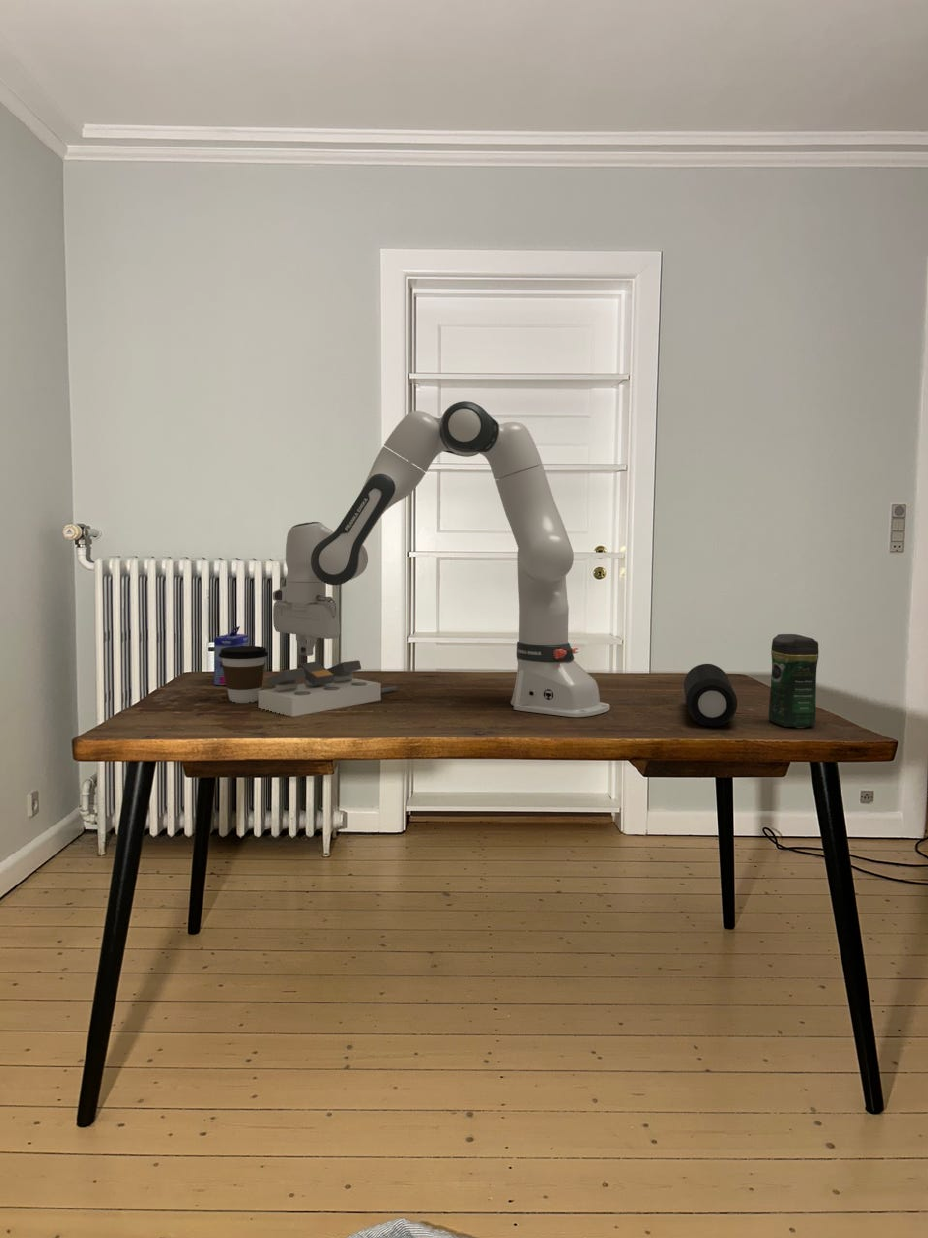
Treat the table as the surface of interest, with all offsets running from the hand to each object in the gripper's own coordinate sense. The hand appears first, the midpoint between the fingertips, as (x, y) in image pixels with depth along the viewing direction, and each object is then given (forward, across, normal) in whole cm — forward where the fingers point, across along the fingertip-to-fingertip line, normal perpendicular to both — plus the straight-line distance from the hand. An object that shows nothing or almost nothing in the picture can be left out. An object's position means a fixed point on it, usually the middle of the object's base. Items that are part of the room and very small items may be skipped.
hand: (306, 655), depth 200 cm
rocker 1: (+4, -3, +8) cm, 9 cm away
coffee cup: (+11, +11, +9) cm, 18 cm away
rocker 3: (+4, -3, -8) cm, 9 cm away
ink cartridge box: (+11, +33, -2) cm, 35 cm away
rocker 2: (+4, -3, 0) cm, 5 cm away
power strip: (+11, -5, -5) cm, 13 cm away
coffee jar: (+10, -90, -55) cm, 106 cm away
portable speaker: (+10, -74, -50) cm, 90 cm away
